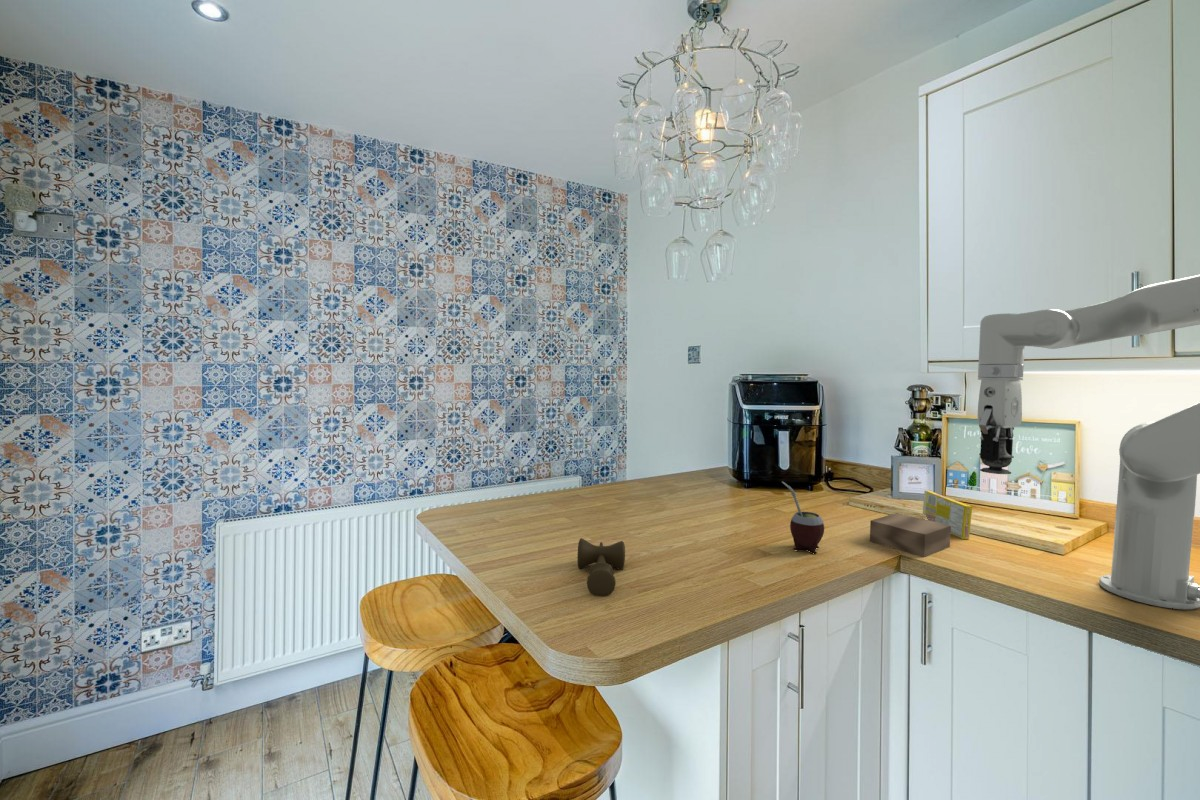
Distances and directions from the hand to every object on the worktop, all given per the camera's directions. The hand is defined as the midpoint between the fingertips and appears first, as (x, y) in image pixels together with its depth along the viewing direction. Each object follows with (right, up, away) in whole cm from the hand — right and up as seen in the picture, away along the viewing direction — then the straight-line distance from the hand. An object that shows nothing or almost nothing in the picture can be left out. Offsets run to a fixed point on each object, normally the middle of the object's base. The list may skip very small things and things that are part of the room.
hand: (996, 457), depth 109 cm
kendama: (-84, -23, -8) cm, 87 cm away
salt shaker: (0, -3, 0) cm, 3 cm away
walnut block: (-12, -21, +11) cm, 27 cm away
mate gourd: (-38, -22, +7) cm, 45 cm away
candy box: (+4, -21, +22) cm, 31 cm away
